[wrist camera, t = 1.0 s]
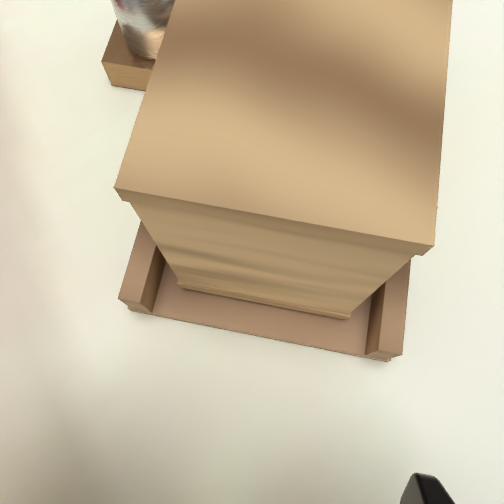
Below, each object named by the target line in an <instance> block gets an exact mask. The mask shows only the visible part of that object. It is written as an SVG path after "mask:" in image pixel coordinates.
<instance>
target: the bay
mask: <svg viewBox="0 0 504 504" xmlns="http://www.w3.org/2000/svg"><path fill="white" fill-rule="evenodd" d="M410 263H411V259H410V260H409V261H408V262H407V263H406V264H404V265H403V266H402V267H401V268H400V269H399V270H398V271H397V272H396V273H394V274H393V275H392V276H391V277H390V278H389V279H388V280H387V281H385V282H384V283H383V284H382V285H381V286H380V287H379V288H378V289H377V290H375V291H374V292H373V293H372V294H371V295H370V296H369V297H368V298H367V299H365V300H364V301H363V302H362V303H361V304H360V305H359V306H358V307H356V308H355V309H354V310H353V311H352V312H351V316H350V318H349V319H348V320H344V319H339V318H334V317H328V316H323V315H318V314H313V313H308V312H303V311H298V310H293V309H287V308H282V307H277V306H272V305H267V304H262V303H257V302H252V301H246V300H241V299H236V298H231V297H226V296H221V295H216V294H211V293H205V292H200V291H195V290H190V289H185V288H180V287H179V286H178V284H177V282H178V278H177V277H176V275H175V274H174V272H173V270H172V269H171V267H170V266H169V264H168V262H167V261H166V259H165V258H164V256H163V254H162V253H161V251H160V250H159V248H158V247H157V245H156V243H155V242H154V240H153V239H152V237H151V235H150V234H149V232H148V231H147V229H146V227H145V226H144V224H143V223H142V221H141V222H140V226H139V229H138V233H137V236H136V239H135V243H134V246H133V249H132V253H131V256H130V259H129V263H128V266H127V269H126V273H125V276H124V279H123V283H122V286H121V289H120V293H119V296H118V299H119V300H121V301H122V302H123V303H125V304H126V305H127V306H128V309H129V310H131V311H136V312H141V313H146V314H151V315H156V316H161V317H166V318H171V319H176V320H181V321H186V322H191V323H196V324H201V325H206V326H211V327H216V328H221V329H225V330H230V331H235V332H240V333H245V334H250V335H255V336H260V337H265V338H270V339H275V340H280V341H285V342H290V343H295V344H300V345H305V346H310V347H315V348H320V349H325V350H330V351H335V352H340V353H345V354H350V355H355V356H360V357H365V358H370V359H375V360H380V361H385V362H388V361H391V358H393V357H396V356H400V355H402V351H403V340H404V329H405V318H406V307H407V296H408V285H409V274H410Z"/></svg>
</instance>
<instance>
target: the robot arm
mask: <svg viewBox="0 0 504 504" xmlns="http://www.w3.org/2000/svg"><path fill="white" fill-rule="evenodd" d="M400 504H455V503H454V501H453V500H452V498H451V497H450V495H449V494H448V493H447V491H446V490H445V488H444V487H443V486H442V484H441V483H440V481H439V480H438V479H437V478H436V477H434V476H431V475H426V474H421V473H414V474H412V476H411V477H410V479H409V482H408V484H407V486H406V488H405V490H404V493H403V495H402V497H401V501H400Z"/></svg>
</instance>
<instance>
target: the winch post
mask: <svg viewBox="0 0 504 504" xmlns="http://www.w3.org/2000/svg"><path fill="white" fill-rule="evenodd" d="M111 3H112V5H113V8H114V11H115V14H116V17H117V21H116V24H115V26H114V29H113V32H112V34H111V37H110V40H109V42H108V45H107V48H106V50H105V53H104V56H103V58H102V61H101V62H102V64H103V66H104V69H105V71H106V73H107V75H108V77H109V80H110V82H111V84H112V85H113V86H119V87H125V88H131V89H137V90H143V91H146V88H147V85H148V82H149V79H150V76H151V73H152V70H153V67H154V64H155V61H156V58H157V54H158V51H159V48H160V45H161V42H162V39H163V36H164V33H165V30H166V27H167V24H168V21H169V18H170V15H171V12H172V9H173V6H174V3H175V0H111Z"/></svg>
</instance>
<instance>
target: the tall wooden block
mask: <svg viewBox="0 0 504 504" xmlns="http://www.w3.org/2000/svg"><path fill="white" fill-rule="evenodd" d="M452 1H453V0H175V3H174V6H173V9H172V12H171V15H170V18H169V21H168V24H167V27H166V30H165V33H164V36H163V39H162V42H161V45H160V48H159V51H158V54H157V58H156V61H155V64H154V67H153V70H152V73H151V76H150V79H149V82H148V85H147V88H146V91H145V94H144V97H143V100H142V103H141V106H140V109H139V112H138V116H137V119H136V122H135V125H134V128H133V131H132V134H131V137H130V140H129V143H128V146H127V149H126V152H125V155H124V158H123V161H122V164H121V167H120V171H119V174H118V177H117V180H116V183H115V186H114V188H115V190H116V191H117V193H118V194H119V196H120V198H121V199H122V201H127V202H130V203H131V205H132V207H133V208H134V210H135V211H136V213H137V215H138V216H139V218H140V219H141V221H142V223H143V224H144V226H145V227H146V229H147V231H148V232H149V234H150V235H151V237H152V239H153V240H154V242H155V243H156V245H157V247H158V248H159V250H160V251H161V253H162V254H163V256H164V258H165V259H166V261H167V262H168V264H169V266H170V267H171V269H172V270H173V272H174V274H175V275H176V277H177V278H178V282H177V284H178V286H179V287H180V288H185V289H190V290H195V291H200V292H205V293H211V294H216V295H221V296H226V297H231V298H236V299H241V300H246V301H252V302H257V303H262V304H267V305H272V306H277V307H282V308H287V309H293V310H298V311H303V312H308V313H313V314H318V315H323V316H328V317H334V318H339V319H344V320H348V319H349V318H350V316H351V312H352V311H353V310H354V309H355V308H356V307H358V306H359V305H360V304H361V303H362V302H363V301H364V300H365V299H367V298H368V297H369V296H370V295H371V294H372V293H373V292H374V291H375V290H377V289H378V288H379V287H380V286H381V285H382V284H383V283H384V282H385V281H387V280H388V279H389V278H390V277H391V276H392V275H393V274H394V273H396V272H397V271H398V270H399V269H400V268H401V267H402V266H403V265H404V264H406V263H407V262H408V261H409V260H410V259H411V258H412V257H413V256H415V255H421V256H423V255H424V254H425V253H426V252H427V251H429V250H430V249H431V248H432V247H433V246H434V241H435V228H436V214H437V201H438V188H439V174H440V161H441V148H442V134H443V121H444V108H445V94H446V81H447V68H448V55H449V41H450V28H451V15H452Z"/></svg>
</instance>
